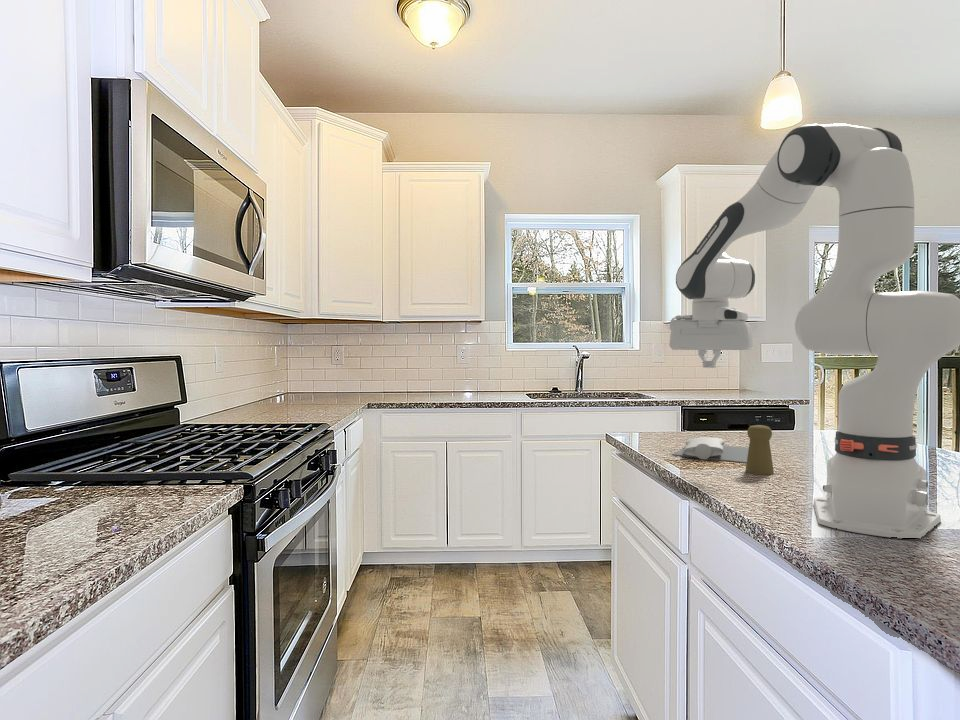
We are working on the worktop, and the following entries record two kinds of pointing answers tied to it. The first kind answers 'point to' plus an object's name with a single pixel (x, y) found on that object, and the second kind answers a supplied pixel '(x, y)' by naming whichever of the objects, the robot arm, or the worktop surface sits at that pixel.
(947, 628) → the worktop surface
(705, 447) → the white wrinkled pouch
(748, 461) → the cork
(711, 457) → the mat
